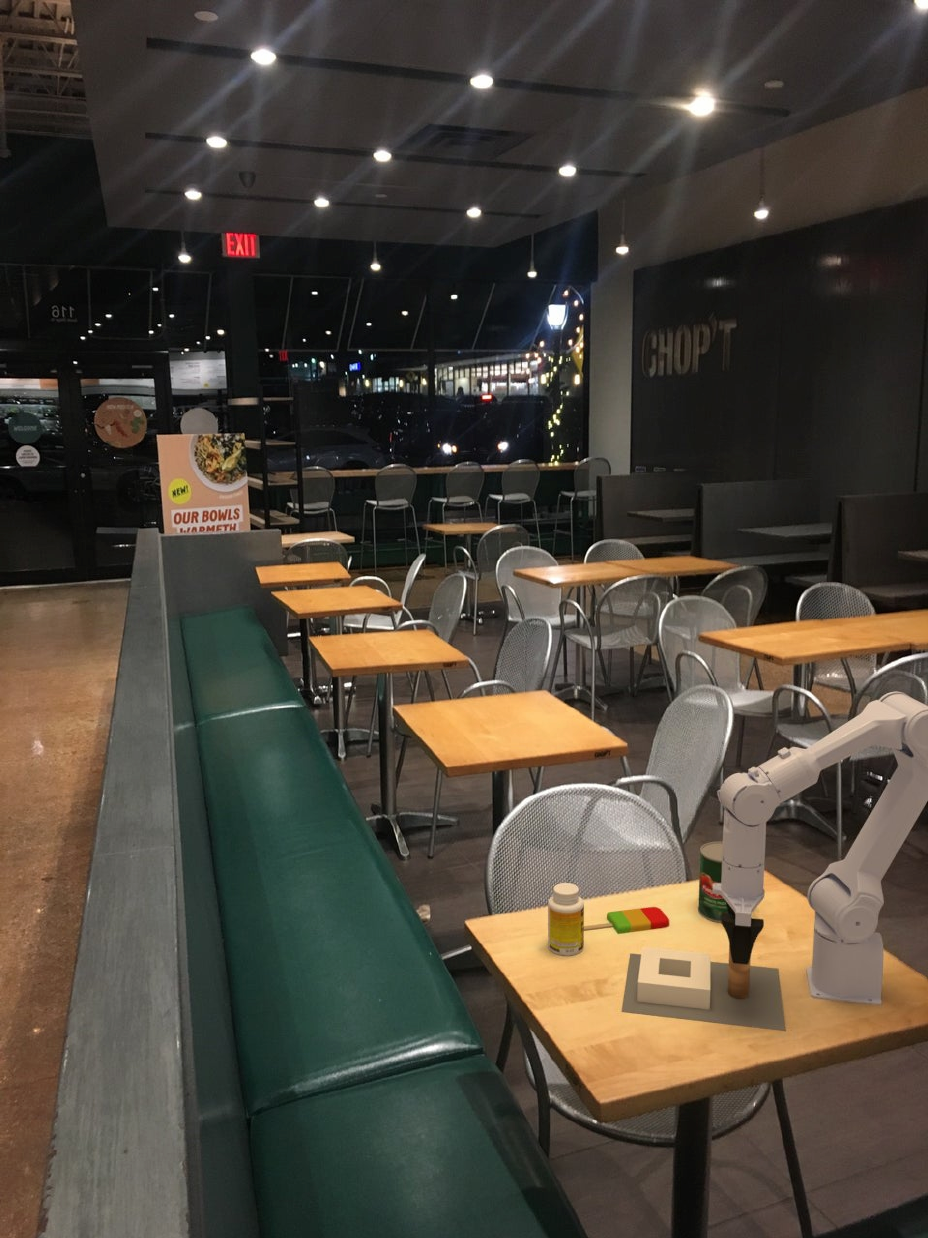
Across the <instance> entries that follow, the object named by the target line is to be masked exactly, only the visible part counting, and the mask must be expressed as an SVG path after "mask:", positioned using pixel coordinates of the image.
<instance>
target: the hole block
mask: <svg viewBox="0 0 928 1238" xmlns="http://www.w3.org/2000/svg"><path fill="white" fill-rule="evenodd" d="M710 962H711V953H710V952H709V953H707V952H698V951H688V950H680V949H679V950H678V949H670V948H660V947H649V946H642V948H641V961H640V968H639V976H638V995H637V1001H638V1002H647V1003H656V1004H665V1005H673V1006H682V1007H691V1008H700V1009H708V1010H710Z"/></svg>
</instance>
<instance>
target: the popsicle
mask: <svg viewBox="0 0 928 1238" xmlns="http://www.w3.org/2000/svg"><path fill="white" fill-rule="evenodd" d="M606 920H607V921H608V922H607V923H598V924H592V925H584V931H586V932H587V931H593V930H600V929H601V930H603V929H608V928H613V929H614V930H615V932H616V933H617V934H618V935H619V934H627V933H634V932H643V931H650V930H659V929H665V928H668V927H669V926H670V918H669V917H668V916H667V915H666V913H664V911H663V910H662V909H661V908H660V907H657V906H650V907H648V906H647V907H641V908H634V909H633V908H631V909H625V910H618V911H617V910H616V911H609V912H607V914H606Z"/></svg>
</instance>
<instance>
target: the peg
mask: <svg viewBox="0 0 928 1238" xmlns="http://www.w3.org/2000/svg"><path fill="white" fill-rule="evenodd" d="M751 958H752V956H751V957H750V960H749V963H748V964H737V963H733V962H732V958H731V953H730V945H729V946H728V963H729V966H728V994H729V996H731V997H733V998H736V999H746V998H748V997H749V987H750V966H751Z"/></svg>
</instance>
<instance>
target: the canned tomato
mask: <svg viewBox="0 0 928 1238" xmlns="http://www.w3.org/2000/svg"><path fill="white" fill-rule="evenodd" d="M722 849H723V841H712V842H707V843H704V844H703V845H701V847H700V849H699V873H698V874H699V880H698V908H697V911H698V914H699V915H700V916H701V917H702V918H704V919H706V920H708V921H711V922H713V923H719V924H722V922H721V913H728V910H727V906H726V902H725V899H724V898H723V897H722V895H720V894H715V893H713V884H714V883H721V878H722Z"/></svg>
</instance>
